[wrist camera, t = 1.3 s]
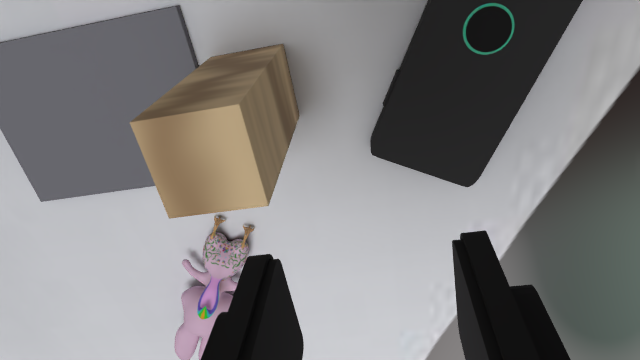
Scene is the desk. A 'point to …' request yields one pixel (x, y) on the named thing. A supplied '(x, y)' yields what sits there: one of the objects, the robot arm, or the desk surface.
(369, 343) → the desk surface
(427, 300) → the desk surface
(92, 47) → the charcoal mat
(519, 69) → the smart home device
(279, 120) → the oak block
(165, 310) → the desk surface
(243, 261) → the pink creature figurine
